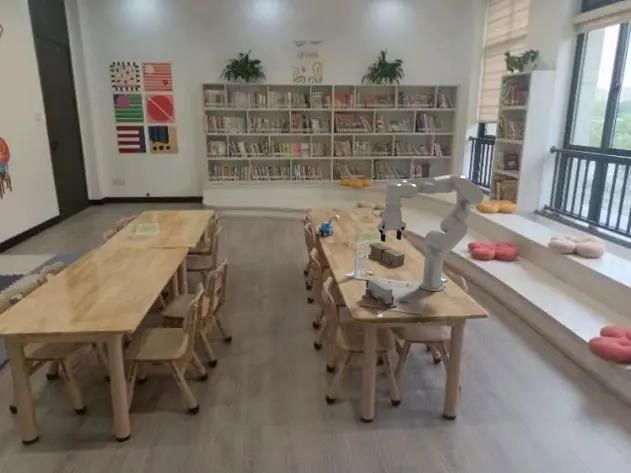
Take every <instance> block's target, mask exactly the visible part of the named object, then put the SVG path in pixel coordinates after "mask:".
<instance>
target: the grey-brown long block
mask: <svg viewBox="0 0 631 473" xmlns="http://www.w3.org/2000/svg"><path fill="white" fill-rule="evenodd" d="M369 248H370V256H371V257H374V258H376V259H378V260H380V261H383V262H385V263H386V264H388V265H391V266H393V267H395V268H398V267H402V266H403V265H404V264H405V255H406V254H405V253H404V252H402V251H399V250H397V249H394V248H392V247H390V246H388V245H385V244H383V243H381V242H374V243H373V242H372V243H369Z"/></svg>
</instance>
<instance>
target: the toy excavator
mask: <svg viewBox="0 0 631 473" xmlns="http://www.w3.org/2000/svg"><path fill="white" fill-rule="evenodd" d="M333 221H335V222H338V221H340V215H338V214H335V215H333V216H332V217H330V218H329V219H328V221H325V222H322V223H321V224H320V226H319V227H318V231H317V235H318V236H322V235H323V236H324V237H325V238H327V237H328V236H331V235H333V234H334V230H335V228H334V227H333Z"/></svg>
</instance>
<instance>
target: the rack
mask: <svg viewBox="0 0 631 473" xmlns="http://www.w3.org/2000/svg"><path fill="white" fill-rule="evenodd" d="M370 293H371V291H370V290H368V288H366V289H365V293H364V294H363V295H362V296H361V297H362V298H363V299H364V300H366V301H367V302H369V303H371V304H372V305H373V306H375V307H376V308H378V309H379V310H381V311H385V310H389V309H395V308H397V304H395V303H394V302H395V296H394V295H392V303H387V304H385V303H384V302H383V298H381V297H380V296H379V297H378V299H377V298H376V297H374V296H373V295H371V294H370Z"/></svg>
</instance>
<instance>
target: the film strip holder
mask: <svg viewBox="0 0 631 473" xmlns="http://www.w3.org/2000/svg"><path fill="white" fill-rule="evenodd" d="M362 248H366V249H365V252H364V253H361V254H359V251H360V249H362ZM368 253H369V240H368V239H367V240H365V241H363V242H360V243H358V244H355V248H354V257H355V258H354V262H353V263H354V264H353V266H354V269H353V270H352V271H351V272H348V273H345V274H344V275H345V276H344V277H348V278H353V279H355V280H359V281H361V280H362V281H365V280H366V278H365V276H364V275H365V274H369V275H372V276H376V273H374V271H373V267H372V265H371V262H370V260H369V255H368ZM362 264H364V265H365V266H364V268H363V269H362V268H361V267H360V266H361V265H362ZM368 265H369V267H370V270H371V271H370V270H368ZM358 268H359V269H358Z"/></svg>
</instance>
